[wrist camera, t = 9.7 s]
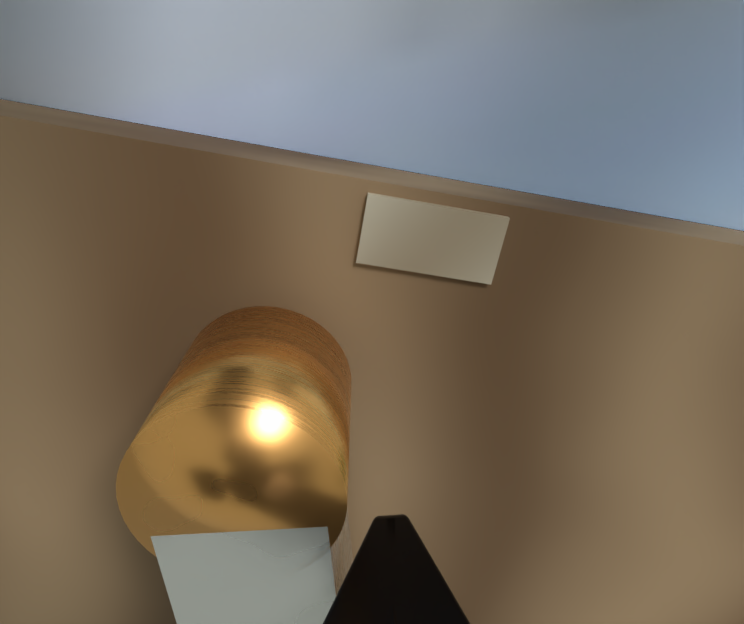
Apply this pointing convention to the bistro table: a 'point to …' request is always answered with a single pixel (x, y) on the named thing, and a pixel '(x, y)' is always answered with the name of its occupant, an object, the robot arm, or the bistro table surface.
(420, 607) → the robot arm
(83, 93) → the bistro table surface
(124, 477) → the lever
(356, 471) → the board
